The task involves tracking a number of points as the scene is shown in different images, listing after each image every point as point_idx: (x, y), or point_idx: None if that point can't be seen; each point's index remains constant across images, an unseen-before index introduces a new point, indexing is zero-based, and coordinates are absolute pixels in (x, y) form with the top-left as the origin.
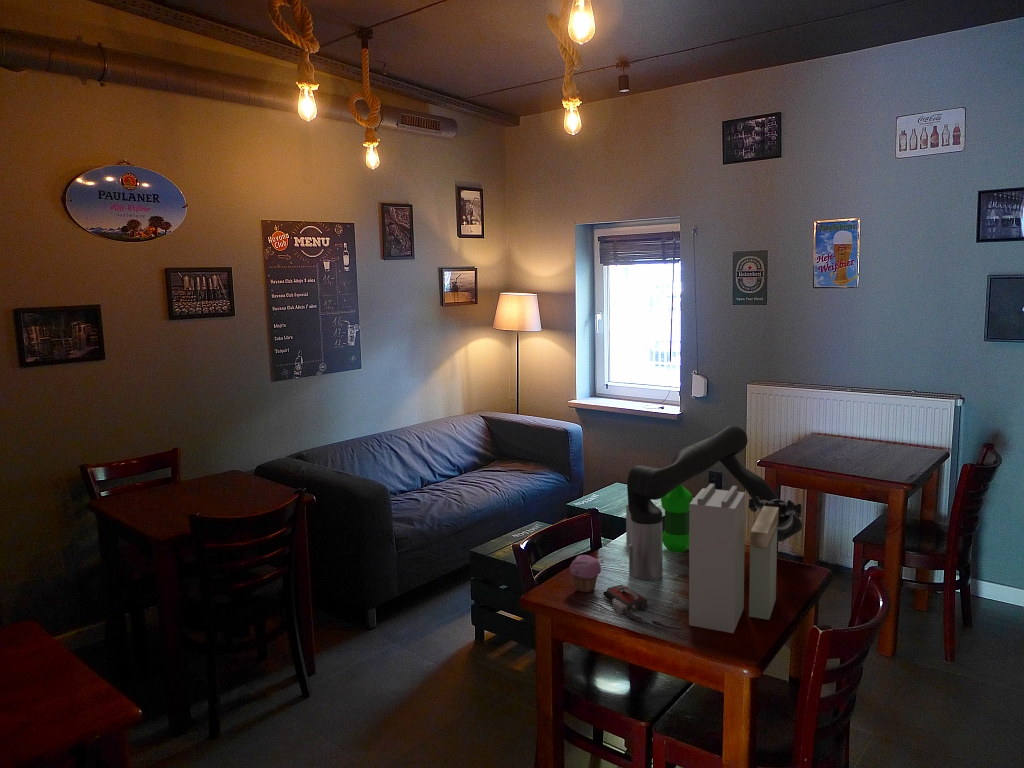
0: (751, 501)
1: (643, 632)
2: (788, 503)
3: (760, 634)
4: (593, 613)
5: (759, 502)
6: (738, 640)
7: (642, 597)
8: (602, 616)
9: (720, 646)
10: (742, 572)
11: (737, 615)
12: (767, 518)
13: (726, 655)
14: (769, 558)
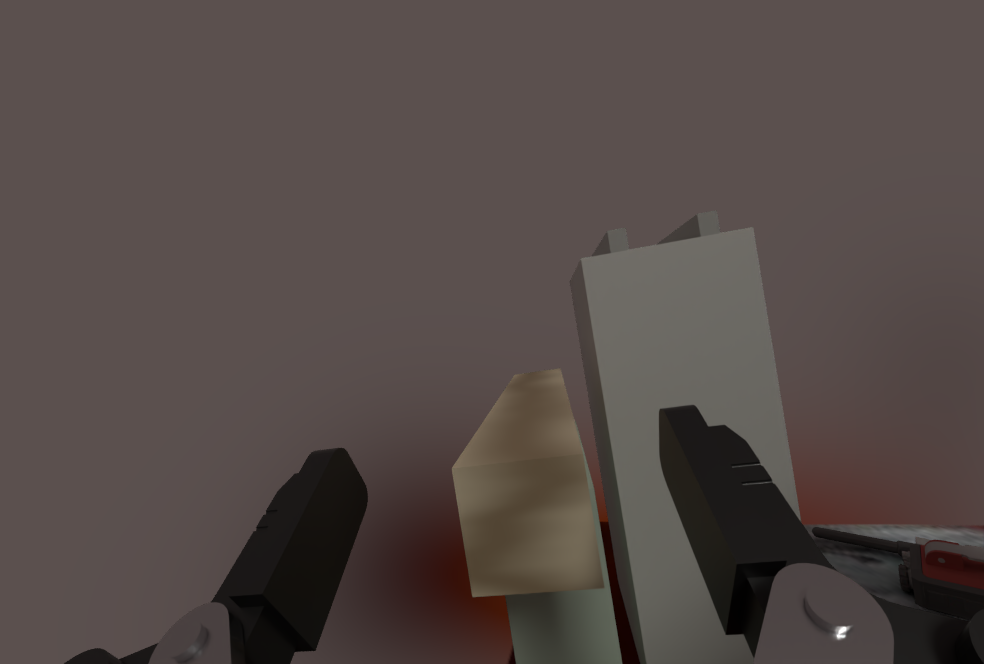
0: (952, 629)
1: None
2: (346, 471)
3: None
4: (974, 536)
5: (717, 564)
6: None
7: (939, 577)
8: (935, 535)
9: None
10: (622, 539)
11: (624, 595)
12: (522, 397)
13: (600, 527)
14: None
